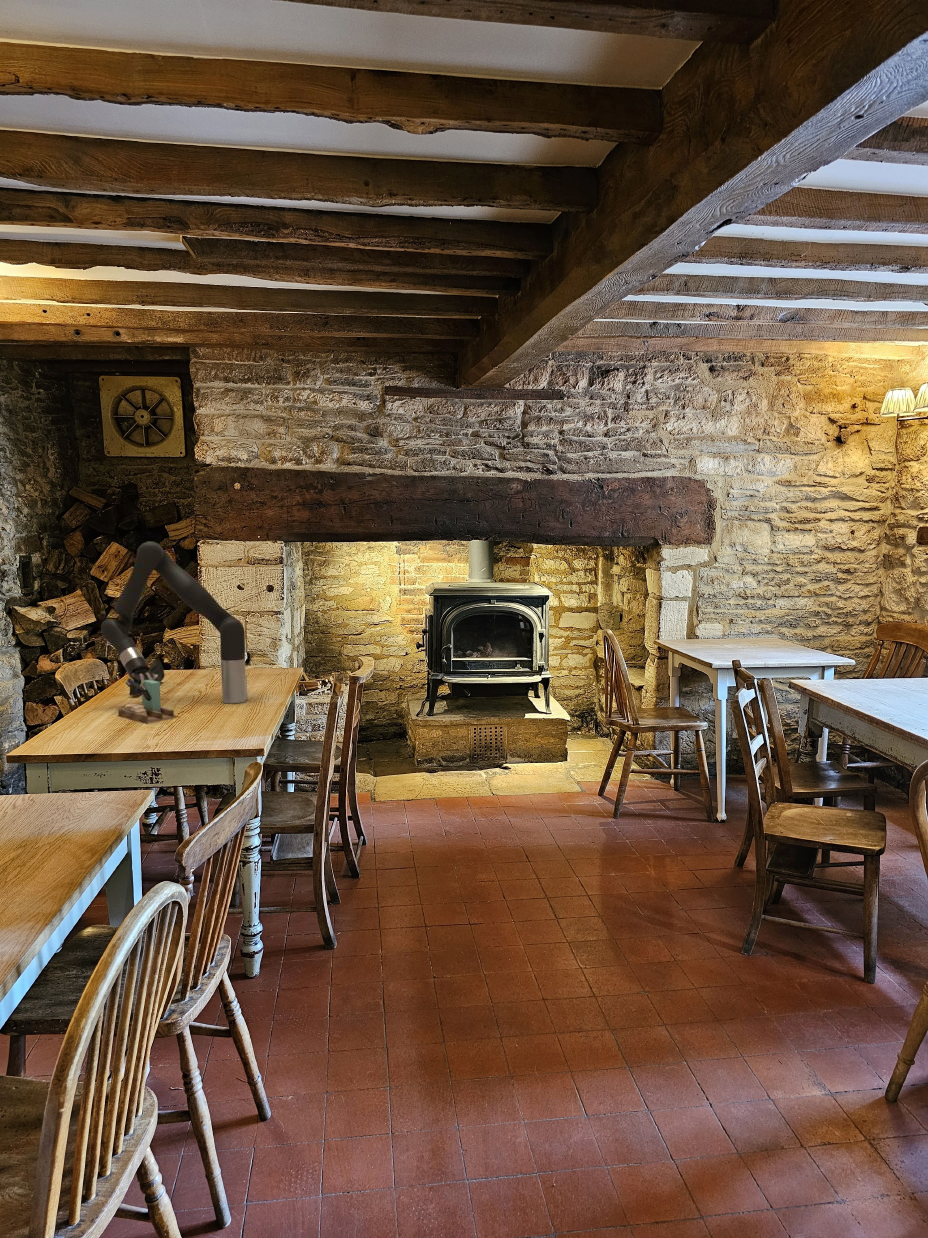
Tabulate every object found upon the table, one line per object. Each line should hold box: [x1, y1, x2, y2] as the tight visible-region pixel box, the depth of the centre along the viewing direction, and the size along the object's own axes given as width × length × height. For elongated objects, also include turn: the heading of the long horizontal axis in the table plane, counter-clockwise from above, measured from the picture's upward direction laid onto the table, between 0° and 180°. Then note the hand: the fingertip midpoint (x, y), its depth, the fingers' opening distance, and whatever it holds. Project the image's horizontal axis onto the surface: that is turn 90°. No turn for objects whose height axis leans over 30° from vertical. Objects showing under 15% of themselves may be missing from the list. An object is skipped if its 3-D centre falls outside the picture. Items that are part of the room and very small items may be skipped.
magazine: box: [129, 658, 166, 697], centre depth 342 cm, size 17×3×30 cm
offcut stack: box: [125, 703, 147, 716], centre depth 293 cm, size 8×4×4 cm, turn 53°
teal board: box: [141, 680, 162, 712], centre depth 297 cm, size 7×3×12 cm, turn 53°
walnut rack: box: [116, 706, 181, 725], centre depth 294 cm, size 20×13×4 cm, turn 53°
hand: (154, 698), depth 296 cm, fingers closed on teal board, 3 cm apart
